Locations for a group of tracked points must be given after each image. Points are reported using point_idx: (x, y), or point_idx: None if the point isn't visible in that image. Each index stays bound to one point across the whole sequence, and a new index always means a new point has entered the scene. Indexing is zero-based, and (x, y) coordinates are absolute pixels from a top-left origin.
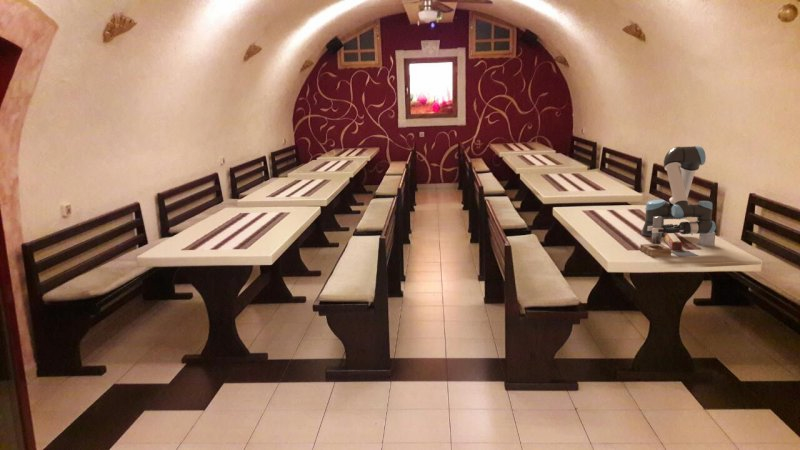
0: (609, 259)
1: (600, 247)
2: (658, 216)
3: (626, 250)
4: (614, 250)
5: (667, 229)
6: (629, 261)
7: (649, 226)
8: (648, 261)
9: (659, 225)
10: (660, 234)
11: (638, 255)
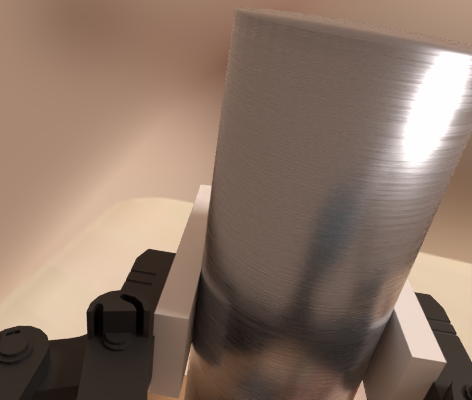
0: (186, 203)
1: (432, 269)
2: (465, 50)
3: None
4: None
5: (3, 334)
6: (107, 240)
7: None
8: (30, 317)
9: (209, 210)
10: (190, 397)
11: None
